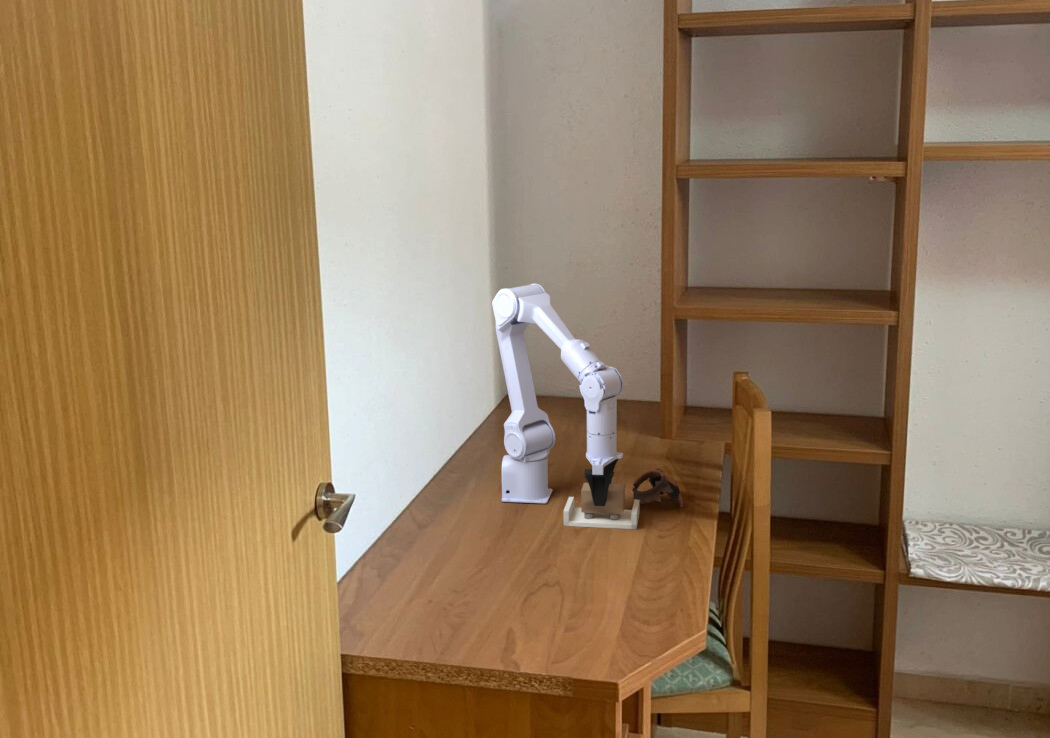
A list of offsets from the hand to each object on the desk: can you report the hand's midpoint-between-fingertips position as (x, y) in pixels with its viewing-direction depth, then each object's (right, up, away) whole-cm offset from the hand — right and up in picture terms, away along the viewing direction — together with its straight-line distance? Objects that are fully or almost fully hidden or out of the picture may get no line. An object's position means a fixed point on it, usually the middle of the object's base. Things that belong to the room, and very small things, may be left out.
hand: (601, 498), depth 201 cm
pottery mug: (+12, -2, +9) cm, 15 cm away
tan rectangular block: (0, -2, 0) cm, 2 cm away
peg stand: (0, -4, +1) cm, 4 cm away
